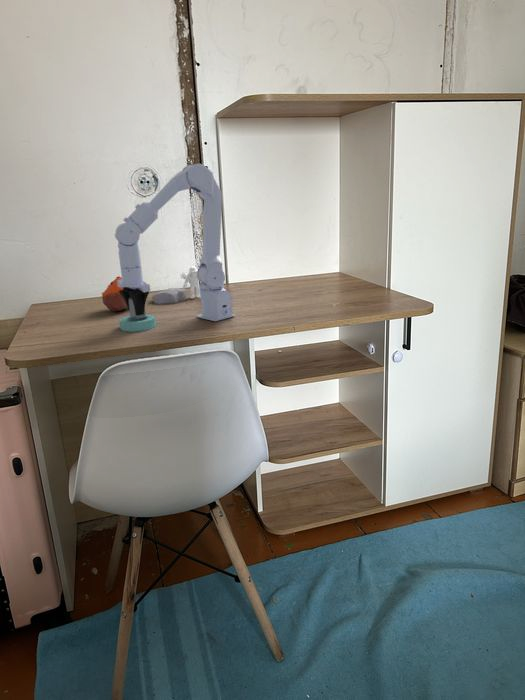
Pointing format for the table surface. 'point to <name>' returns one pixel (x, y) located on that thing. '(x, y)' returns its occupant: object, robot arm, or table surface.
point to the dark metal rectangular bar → (133, 313)
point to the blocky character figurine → (192, 281)
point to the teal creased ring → (137, 324)
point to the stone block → (169, 296)
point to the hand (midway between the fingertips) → (136, 313)
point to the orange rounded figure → (114, 297)
